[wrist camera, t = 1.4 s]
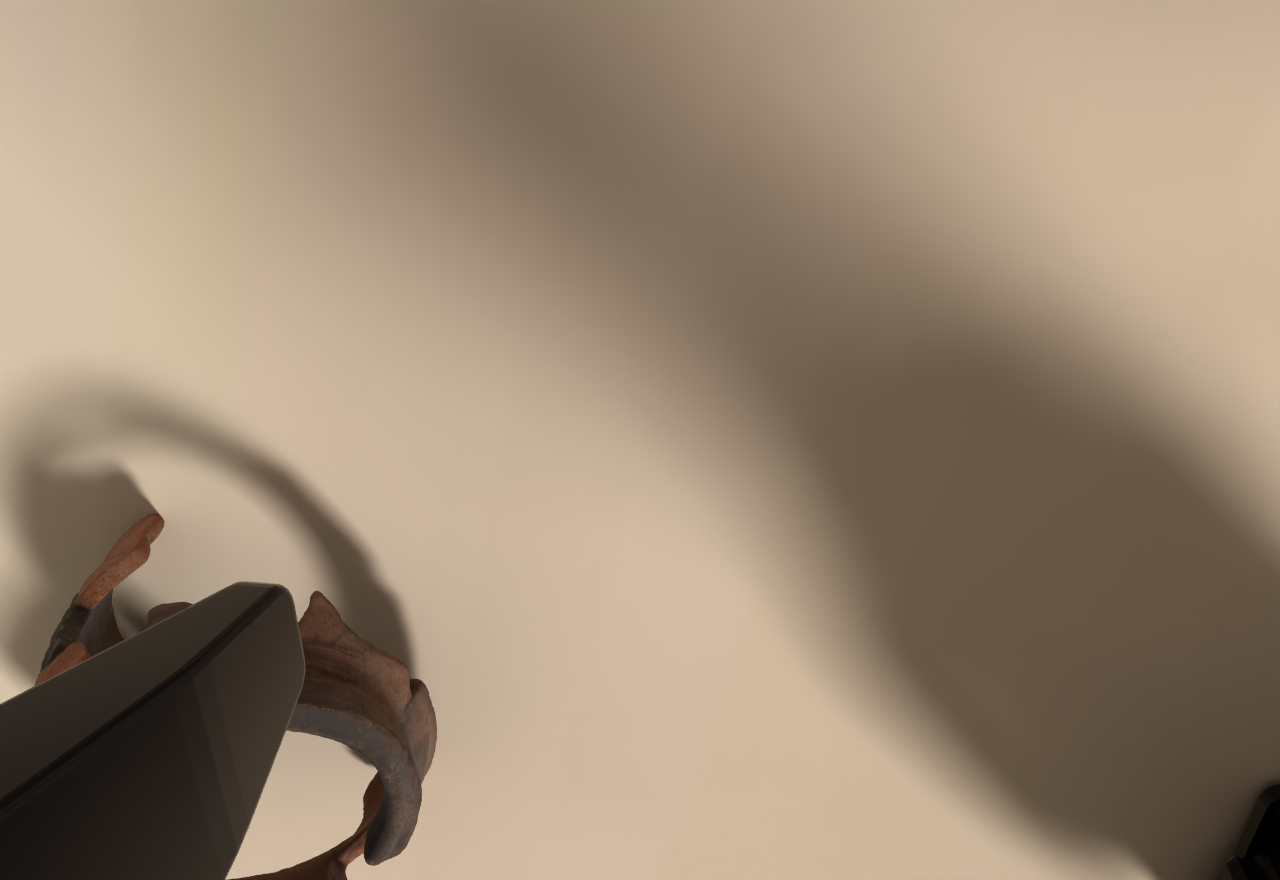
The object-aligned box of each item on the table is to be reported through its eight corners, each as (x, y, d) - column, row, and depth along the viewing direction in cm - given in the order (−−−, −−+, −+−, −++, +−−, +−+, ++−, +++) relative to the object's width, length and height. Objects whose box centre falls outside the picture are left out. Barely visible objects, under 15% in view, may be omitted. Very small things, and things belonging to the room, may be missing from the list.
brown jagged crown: (183, 404, 25) (166, 612, 18) (476, 556, 30) (546, 760, 23) (-71, 734, 27) (-170, 1029, 20) (245, 821, 32) (249, 1077, 26)
